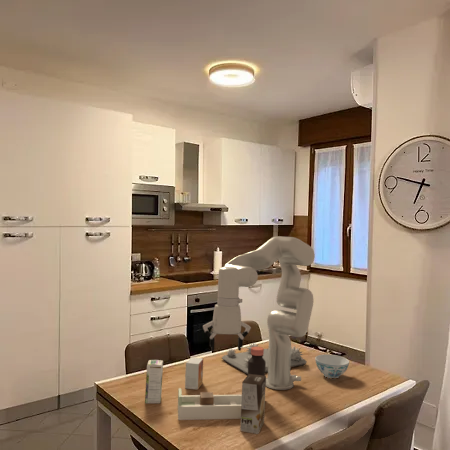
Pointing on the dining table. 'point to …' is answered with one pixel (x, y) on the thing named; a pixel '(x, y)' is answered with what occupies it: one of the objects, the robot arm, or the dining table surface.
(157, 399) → the syrup box
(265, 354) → the decorative tray
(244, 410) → the coffee box
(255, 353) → the bottle
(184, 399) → the tray
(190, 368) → the small box
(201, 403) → the walnut block
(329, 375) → the chinaware
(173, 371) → the dining table surface
